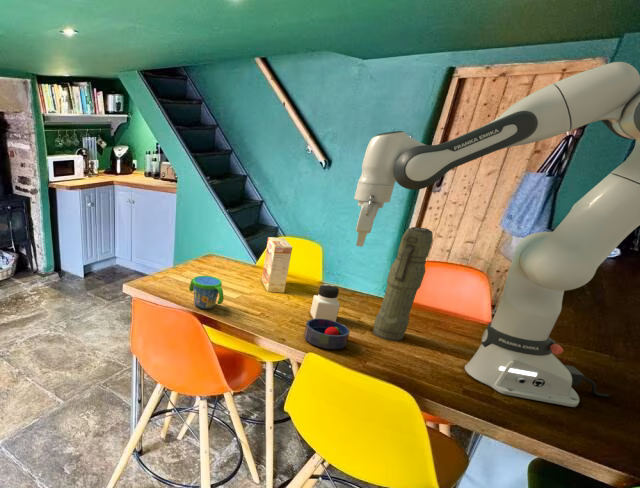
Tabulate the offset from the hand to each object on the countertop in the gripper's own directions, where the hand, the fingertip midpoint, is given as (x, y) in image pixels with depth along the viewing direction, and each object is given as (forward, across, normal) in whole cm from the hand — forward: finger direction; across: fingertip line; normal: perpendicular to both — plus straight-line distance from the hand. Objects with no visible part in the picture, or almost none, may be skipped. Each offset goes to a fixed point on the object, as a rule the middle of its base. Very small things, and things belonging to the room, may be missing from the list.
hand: (360, 242), depth 118 cm
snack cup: (+31, -1, +45) cm, 55 cm away
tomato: (+30, -6, +3) cm, 30 cm away
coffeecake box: (+31, +36, +29) cm, 56 cm away
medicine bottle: (+31, +13, +6) cm, 34 cm away
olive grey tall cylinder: (+31, +11, -14) cm, 36 cm away
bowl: (+31, -6, +3) cm, 32 cm away
